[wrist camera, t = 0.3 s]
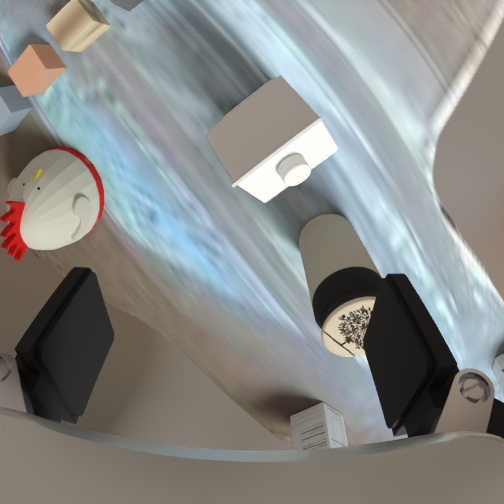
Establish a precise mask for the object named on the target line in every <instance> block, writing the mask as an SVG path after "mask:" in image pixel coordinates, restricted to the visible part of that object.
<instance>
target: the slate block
mask: <svg viewBox="0 0 504 504" xmlns="http://www.w3.org/2000/svg"><path fill="white" fill-rule="evenodd" d="M31 108H32V106H31V105H30V103H29V102H28V100H27V99H26V97H23V96H22V95H21V93H20V92H19V90H18V88H17V87H16V85H12V86H6V87H1V88H0V136H1V135H3V134H6V133H9V132H11V131H14V130H15V129H16V128H17V127H18V125H19V124H20V123H21V121H22V120H23V119H24V117H25V116H26V115H27V113H28V112H29V111H30V110H31Z"/></svg>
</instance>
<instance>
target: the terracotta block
mask: <svg viewBox="0 0 504 504" xmlns="http://www.w3.org/2000/svg"><path fill="white" fill-rule="evenodd" d="M65 69H66V66H65V65H64V63H63V62H62V60H61V59H60V58H59V56H58V55H57V53H56V52H55V50H54V49H53V47H52V46H51V45H44V44H29V46H28V47H27V48H26V49H25V50H24V52H23V53H22V54H21V55H20V57H19V58H18V59H17V61H16V62H15V63H14V65H13V66H12V67H11V69H10V70H9V71H8V74H9V75H10V77H11V79H12V80H13V82H14V84H15V85H16V87H17V88H18V90H19V92H20V93H21V95H22V96H23V97H26V96H31V95H36V94H42V93H45V91H46V90H47V89H48V88H49V87H50V86H51V85H52V83H53V82H54V81H55V80H56V79H57V78H58V77H59V76H60V75H61V74H62V72H63V71H64V70H65Z"/></svg>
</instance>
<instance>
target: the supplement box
mask: <svg viewBox="0 0 504 504" xmlns="http://www.w3.org/2000/svg"><path fill="white" fill-rule="evenodd" d="M290 423H291V435H292V448H293V450H313V449H327V448H338V447H348V443H347V437H346V432H345V427H344V421H343V416H342V414H341V413H339V412H338V411H336V410H335V409H333V408H332V407H330V406H329V405H327V404H326V403H324V402H321V403H319V404H317V405H315V406H313V407H310V408H308V409H306V410H303V411H301V412H299V413H296V414H294V415H292V416H290Z"/></svg>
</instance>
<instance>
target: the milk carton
mask: <svg viewBox="0 0 504 504" xmlns="http://www.w3.org/2000/svg"><path fill="white" fill-rule="evenodd" d="M205 137H206V139H207V140H208V142H209V144H210V145H211V147H212V148H213V150H214V152H215V153H216V155H217V157H218V158H219V160H220V161H221V163H222V165H223V166H224V168H225V170H226V171H227V173H228V175H229V176H230V178H231V179H232V185H231V186H232V187H235V186H237V185H238V186H240V187H241V188H243V189H244V190H246V191H247V192H249V193H250V194H252V195H253V196H255V197H256V198H258V199H259V200H261V201H262V202H264V203H266V202H267V201H269V200H270V199H272V198H273V197H275V196H276V195H277V194H279V193H280V192H281V191H283V190H284V189H285V188H287V187H288V186H296V185H298V184H300V183H302V182H303V181H304V180H306V179H307V178H308V177H309V175H310V173H311V169H313V168H314V167H315V166H317V165H318V164H319V163H321V162H322V161H324V160H325V159H326V158H328V157H329V156H330V155H332V154H333V153H334V152H336V151H337V150H338V148H337V146H336V144H335V142H334V141H333V139H332V137H331V136H330V134H329V132H328V131H327V129H326V128H325V126H324V124H323V123H322V118H321V117H319V116H318V115H317V114H316V113H315V112H314V111H313V110H312V109H311V107H310V106H309V105H308V104H307V103H306V102H305V101H304V100H303V99H302V98H301V96H300V95H299V94H298V93H297V92H296V91H295V90H294V89H293V88H292V87H291V86H290V85H289V84H288V83H287V82H286V80H285V79H284V78H283V77H282V76H279V77H276V78H274V79H271V80H269V81H268V82H266V83H265V84H264V85H262V86H261V87H260V88H258V89H257V90H256V91H255V92H253V93H252V94H251V95H249V96H248V97H247V98H246V99H244V100H243V101H242V102H241V103H239V104H238V105H237V106H236V107H234V108H233V109H232V110H231V111H230V112H228V113H227V114H226V115H225V116H224V117H223V118H222V119H221V120H220V121H219V122H218V123H217V124H216V125H215V126H214V127H213V128H212V129H211V130H210V131H209V132H208V133H207V134H206V136H205Z"/></svg>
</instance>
